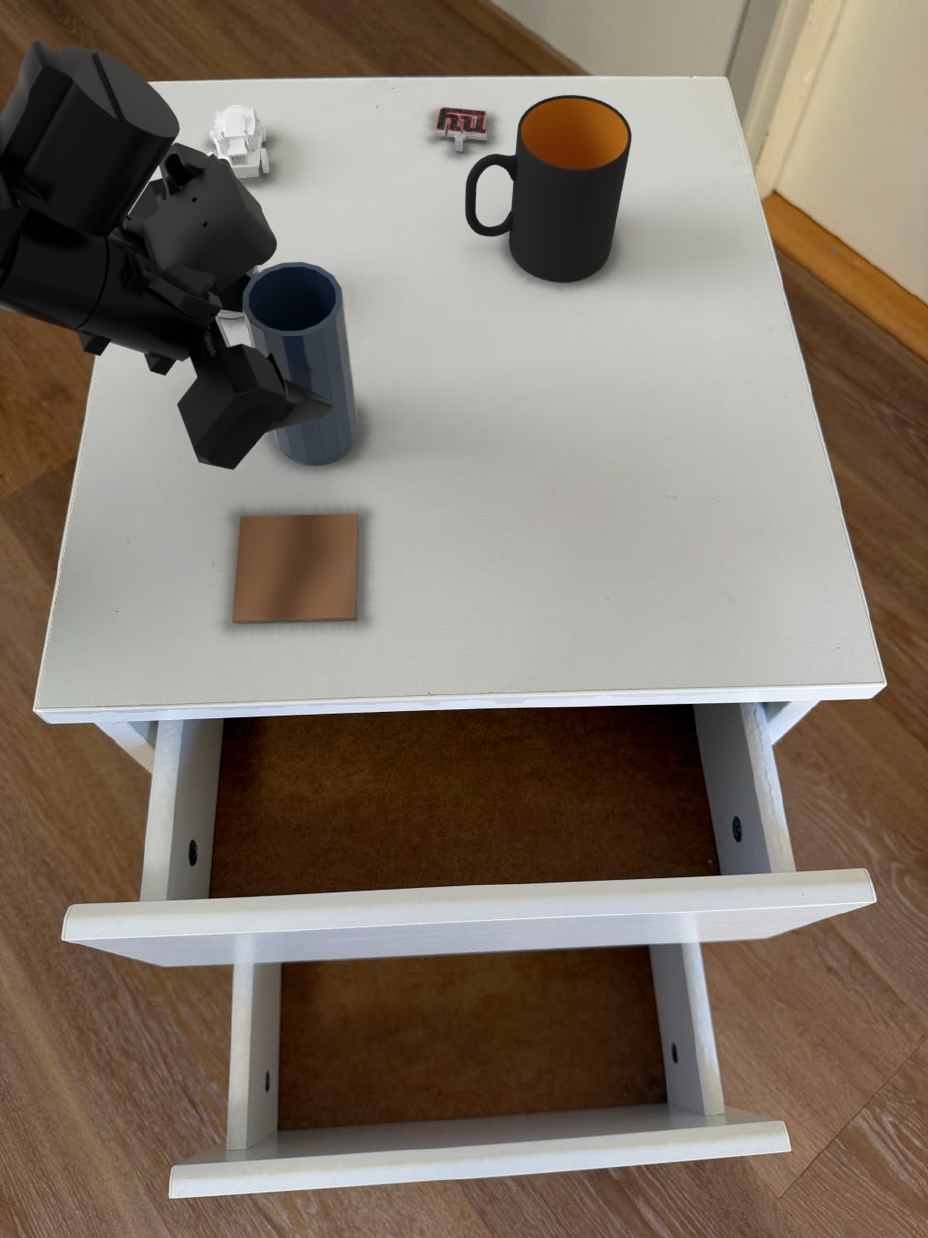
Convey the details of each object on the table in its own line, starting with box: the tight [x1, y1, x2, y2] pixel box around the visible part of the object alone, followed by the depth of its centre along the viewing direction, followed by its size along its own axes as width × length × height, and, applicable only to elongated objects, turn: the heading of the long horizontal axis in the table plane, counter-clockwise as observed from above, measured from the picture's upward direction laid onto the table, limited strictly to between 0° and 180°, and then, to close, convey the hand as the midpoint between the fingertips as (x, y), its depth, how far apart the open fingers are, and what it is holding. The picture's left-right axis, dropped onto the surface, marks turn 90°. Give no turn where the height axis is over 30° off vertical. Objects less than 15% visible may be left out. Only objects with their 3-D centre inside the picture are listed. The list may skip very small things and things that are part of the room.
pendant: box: [434, 106, 488, 152], centre depth 85 cm, size 4×1×5 cm
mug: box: [464, 94, 633, 283], centre depth 75 cm, size 8×12×10 cm
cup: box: [242, 261, 359, 466], centre depth 65 cm, size 6×6×13 cm
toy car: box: [207, 104, 270, 179], centre depth 82 cm, size 5×8×4 cm, turn 8°
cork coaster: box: [231, 513, 359, 624], centre depth 65 cm, size 8×8×1 cm
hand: (304, 357), depth 64 cm, fingers open, 9 cm apart
